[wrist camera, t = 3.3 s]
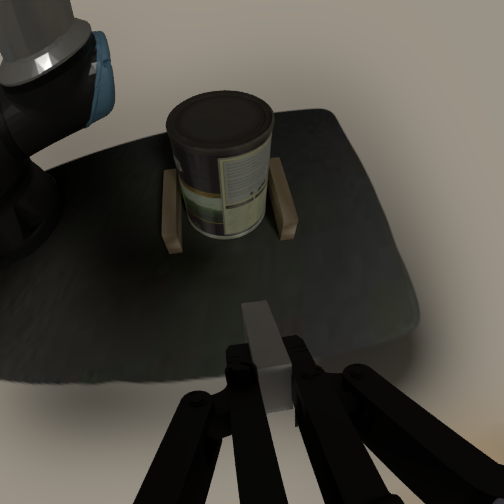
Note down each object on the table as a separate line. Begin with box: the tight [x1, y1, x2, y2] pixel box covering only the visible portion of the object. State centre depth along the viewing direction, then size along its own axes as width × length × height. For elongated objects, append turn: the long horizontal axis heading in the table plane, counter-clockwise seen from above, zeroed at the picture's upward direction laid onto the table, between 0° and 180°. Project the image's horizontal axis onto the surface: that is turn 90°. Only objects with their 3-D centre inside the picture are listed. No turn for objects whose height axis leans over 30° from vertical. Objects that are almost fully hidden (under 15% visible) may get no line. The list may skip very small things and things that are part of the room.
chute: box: [162, 158, 298, 254], centre depth 36 cm, size 15×10×4 cm
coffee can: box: [166, 90, 274, 239], centre depth 32 cm, size 10×10×14 cm
